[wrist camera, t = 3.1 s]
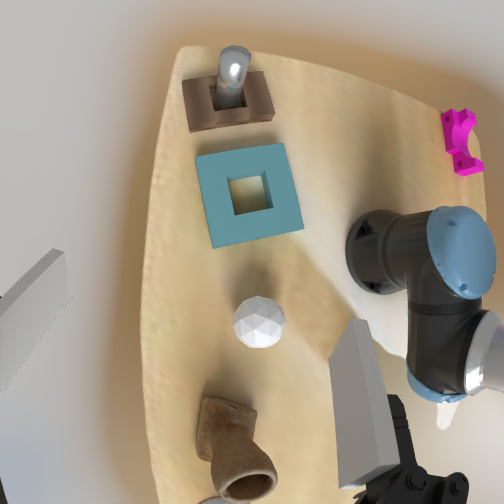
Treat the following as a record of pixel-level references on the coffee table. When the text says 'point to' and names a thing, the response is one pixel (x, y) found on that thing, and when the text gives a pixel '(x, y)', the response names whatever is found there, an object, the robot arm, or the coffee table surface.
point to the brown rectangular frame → (205, 117)
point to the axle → (231, 76)
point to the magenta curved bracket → (460, 141)
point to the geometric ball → (259, 322)
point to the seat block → (242, 166)
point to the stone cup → (233, 451)
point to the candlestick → (219, 501)
